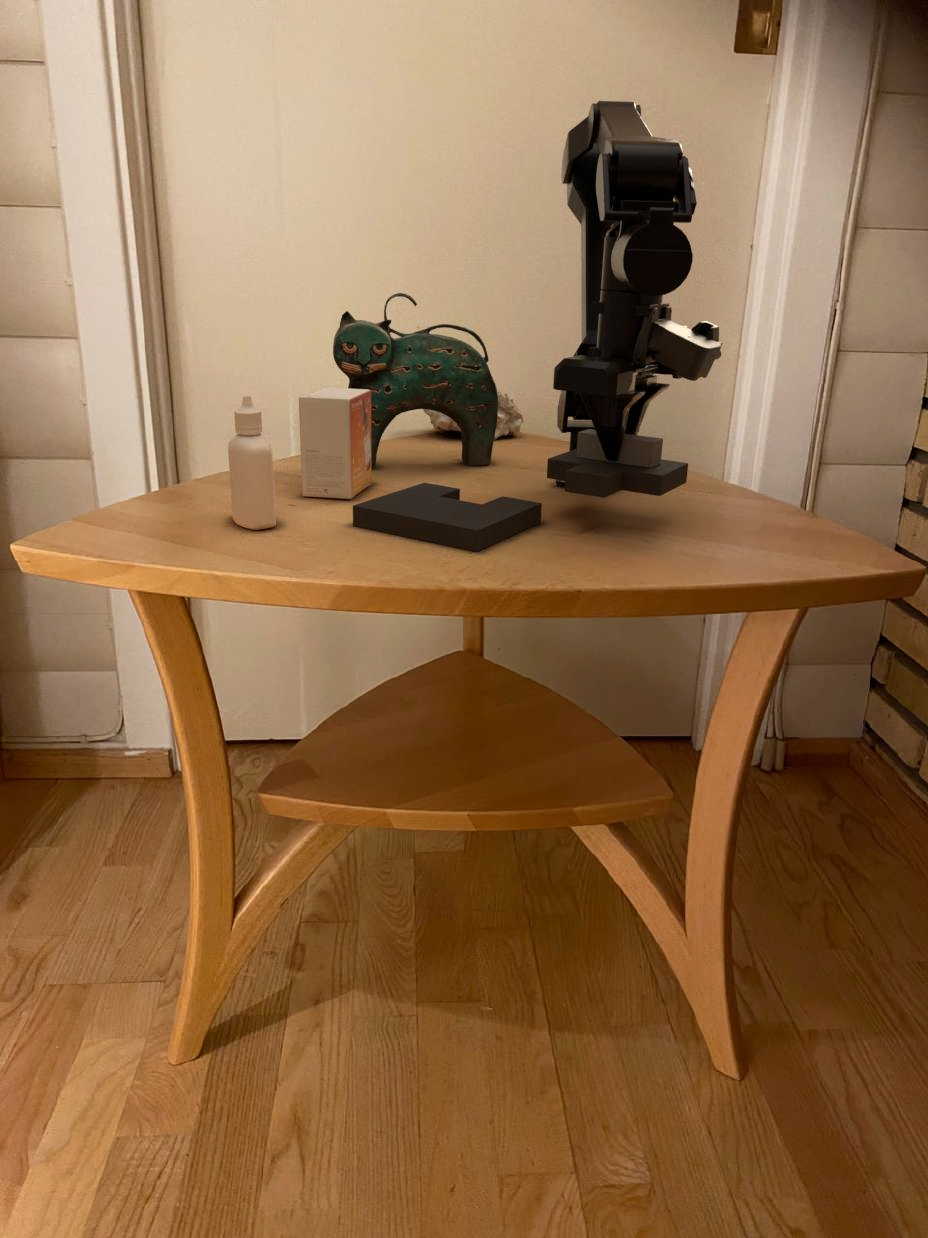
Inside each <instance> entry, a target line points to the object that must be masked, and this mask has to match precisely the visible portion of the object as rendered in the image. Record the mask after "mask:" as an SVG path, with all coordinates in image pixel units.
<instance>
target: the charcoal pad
mask: <svg viewBox="0 0 928 1238" xmlns="http://www.w3.org/2000/svg"><path fill="white" fill-rule="evenodd" d="M542 505H543V504H542V502H539V501H533V500H526V499H521V498H516V497H509V496H504V495H502V496H499V497H497V498H494V499H492V500H489V501H486V502H483V503H477V502H472V501H467V500H462V499H461V488H457V487H452V486H445V485H441V484H435V483H429V482H422V483H419V484H416V485H413V486H409V487H406V488H403V489H400V490H396V491H393V492H391V493H387V494H385V495H381V496H378V497H375V498H371V499H369V500H365V501H362V502H360V503H357V504H353V505H352V526H354V527H359V528H363V529H368V530H372V531H378V532H382V533H386V534H391V535H396V536H400V537H404V538H405V537H406V538H410V539H415V540H420V541H424V542H429V543H433V544H438V545H442V546H446V547H447V546H448V547H452V548H457V549H461V550H467V551H471V552H476V553H477V552H480V551H482V550H484V549H486V548H488V547H490V546H493V545H495V544H498V543H500V542H501V541H503V540H506V539H508V538H510V537H512V536H514V535H517V534H520V533H521V532H523V531H525V530H528V529H530V528H532V527H534V526H537V525H539V524H540V523H541V522H542V507H543V506H542Z"/></svg>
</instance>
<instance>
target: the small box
mask: <svg viewBox="0 0 928 1238" xmlns="http://www.w3.org/2000/svg"><path fill="white" fill-rule="evenodd" d="M298 416H299V418H298V419H299V444H300V445H299V446H300V447H299V448H300V450H299V451H300V473H301V493H302V496H303V497H313V498H328V499H343V500H352V499H354V497H356V495H358V494H359V493H360V492H362V491H363V490H365V489H366V488H368V487H370V486H371V485H372V483H373V477H372V475H373V474H372V473H373V471H372V470H373V469H372V468H371V390H366V389H348V387H346V388H345V387H344V388H343V387H329V386H327V387H326V386H325V387H324V386H323V387H322V388H320V389H319V390H316V391H314V392H311V393H308V394H306V395H301V396H299V397H298Z"/></svg>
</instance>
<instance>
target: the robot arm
mask: <svg viewBox="0 0 928 1238" xmlns="http://www.w3.org/2000/svg"><path fill="white" fill-rule="evenodd" d="M562 154H563V155H562V160H561V173H560V174H561V184H562V185H566V205H567V207H568V208H569V210H570V211H571V213H572V214H573V216H574V217H575V218H576V220H577V221H578V223H579V224H580V255H581V256H580V257H581V258H580V268H581V269H580V270H581V271H580V272H581V273H580V274H581V275H580V277H581V278H580V279H581V281H580V282H581V283H580V285H581V289H580V290H581V291H580V293H581V343H580V344H579V346H578V347H577V350H576V351H575V353H574V354H573V355H572V356H567V357H564V358H563V359H561V361H559V363H558V364H557V365H556V366H554V369H553V385H552V389H554V390H555V391H560V394H559V399H558V403H557V414H556V415H557V419H556V420H557V422H556V426H557V428H558V429H559V431H560V433H561V434H567V433H570V434H569V435H570V436H569V448H568V449H569V451H571V450H574V449H577V440H578V432H581V431H584V430H587V429H592V430H596V433H597V436H598V438H599V441H600V444H601V446H602V449H603V451H604V454H605V457H606V459H607V460H609V461H617V460H618V459H619V455H620V451H621V447H622V443H623V438H624V434H631V435H639V432H640V428H641V426H642V423H643V421H644V420H643V419H644V418H645V415H646V412H647V410H648V408H649V405H650V403H651V402H652V401H653V400H654V399H656V397H658V396H659V395H660V394H662V393H663V392H665V391H666V390H667V389H669V388H670V386H671V384H670V383H663V382H658V375H665V376H668V375H669V376H672V379H675V380H680V379H685V380H688V381H691V382H696V381H697V380H699V379H700V378H703V379H706V378H707V377H708V375H709V373H710V371H711V369H712V367H713V365H714V362H715V361H716V360H719V359H720V358H721V357H722V351H721V348H722V346H723V342H721V341H720V327H719V325H716V324H714V323H712V322H710V321H707V320H704V321H699V322H698V323H697V324H696V325H694V326H693V327H692V328H690V326H688V325H681V324H679V323H677V322H674V321H672V313H673V309H672V307H671V306H670V302H663V300H664V299H663V298H664V296H665V295H669V294H670V293H672V292H674V291H675V290H677V289H678V288H679V287H680V286H682V284H683V283H684V282H685V281H686V279H687V278H688V276H689V274H690V271H691V269H692V266H693V259H694V253H693V250H692V246H691V245H692V244H691V243H690V240H689V238H688V236H687V235H686V234H685V232H684V231H683V230H682V229H681V228H679V227H678V226H677V225H675V224H690V223H692V221H693V216H694V215H695V210H696V208H697V205H698V204H697V203H698V202H697V196H696V189H695V183H694V177H693V172H692V171H693V170H692V169H691V167H690V163H689V157H688V156H687V155H684V150H683V146H682V144H681V143H680V142H679V141H677V140H675V139H673V138H665V137H657V136H653V135H652V133H651V131H650V130H649V128H648V126H647V124H646V123H645V121H644V120H643V118H642V107H641V104H636V103H635V102H634V101H621V100H620V101H619V100H598V101H596V103H591V105H590V107H589V111H588V115H587V117H585V118H584V119H583V120H581V121H580V122H579V123H577V124H576V125H575V126H574V127H573V128H571V129H570V130H569V131H568V132H567V136H566V140H565V144H564V149H563V153H562ZM654 374H655V375H654ZM569 418H572V419H569ZM569 451H568V452H569ZM555 485H558V486H564V487H565V481H562V480H555Z"/></svg>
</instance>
